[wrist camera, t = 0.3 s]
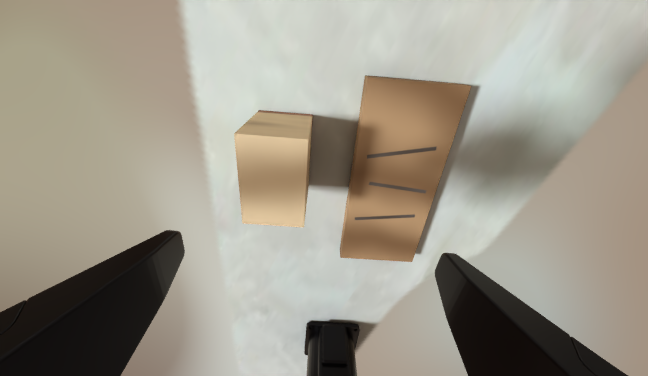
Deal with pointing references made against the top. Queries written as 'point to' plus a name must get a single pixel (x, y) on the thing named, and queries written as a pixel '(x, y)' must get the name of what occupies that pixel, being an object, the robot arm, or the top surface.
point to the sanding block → (274, 167)
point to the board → (398, 164)
